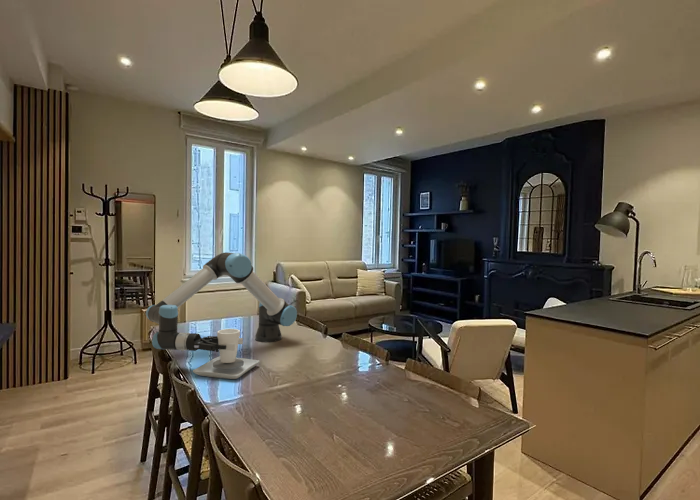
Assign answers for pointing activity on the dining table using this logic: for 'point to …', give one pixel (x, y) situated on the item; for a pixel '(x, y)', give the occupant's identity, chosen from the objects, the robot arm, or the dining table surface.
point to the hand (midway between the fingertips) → (238, 344)
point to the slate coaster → (228, 364)
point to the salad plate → (225, 373)
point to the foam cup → (230, 338)
